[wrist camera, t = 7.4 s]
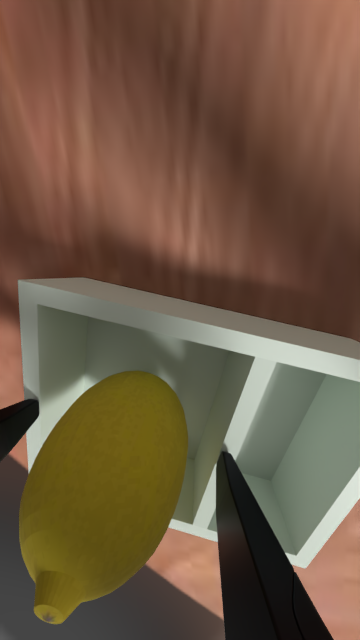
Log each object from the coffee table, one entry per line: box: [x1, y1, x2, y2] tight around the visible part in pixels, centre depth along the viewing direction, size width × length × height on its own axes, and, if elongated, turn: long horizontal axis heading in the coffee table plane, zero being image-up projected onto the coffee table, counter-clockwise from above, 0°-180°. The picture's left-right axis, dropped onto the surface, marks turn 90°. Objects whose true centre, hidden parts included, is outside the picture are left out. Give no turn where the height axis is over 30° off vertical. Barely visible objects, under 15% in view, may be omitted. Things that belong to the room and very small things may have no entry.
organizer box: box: [18, 277, 360, 569], centre depth 10 cm, size 16×12×4 cm
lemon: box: [19, 371, 188, 624], centre depth 7 cm, size 6×6×8 cm
